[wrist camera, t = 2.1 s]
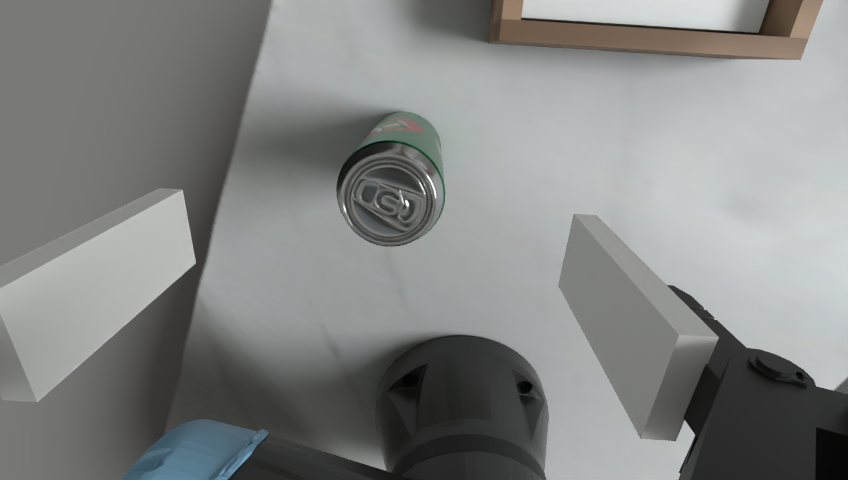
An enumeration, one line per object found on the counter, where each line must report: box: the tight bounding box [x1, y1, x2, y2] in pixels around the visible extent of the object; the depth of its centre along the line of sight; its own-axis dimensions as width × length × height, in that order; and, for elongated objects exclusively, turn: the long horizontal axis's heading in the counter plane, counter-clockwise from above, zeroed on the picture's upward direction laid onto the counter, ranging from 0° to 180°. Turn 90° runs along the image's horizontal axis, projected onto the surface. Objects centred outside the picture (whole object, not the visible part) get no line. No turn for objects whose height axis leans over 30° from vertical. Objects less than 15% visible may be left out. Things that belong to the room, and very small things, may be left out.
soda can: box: [337, 112, 445, 247], centre depth 24 cm, size 5×5×12 cm
